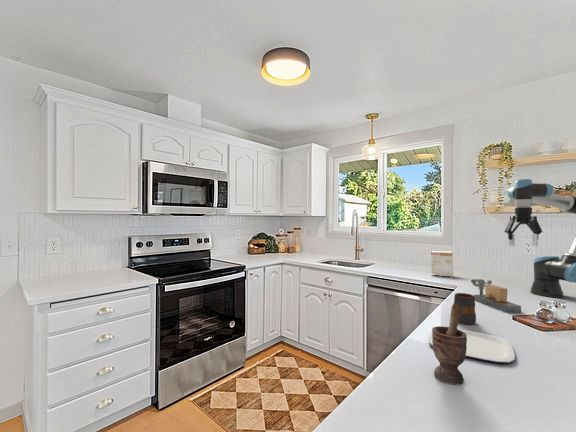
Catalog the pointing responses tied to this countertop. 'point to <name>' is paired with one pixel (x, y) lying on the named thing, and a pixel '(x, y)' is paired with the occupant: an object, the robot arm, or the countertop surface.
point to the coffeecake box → (442, 263)
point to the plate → (487, 347)
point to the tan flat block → (496, 293)
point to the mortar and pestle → (450, 348)
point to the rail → (498, 304)
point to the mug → (466, 308)
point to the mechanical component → (480, 284)
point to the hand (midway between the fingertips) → (523, 245)
